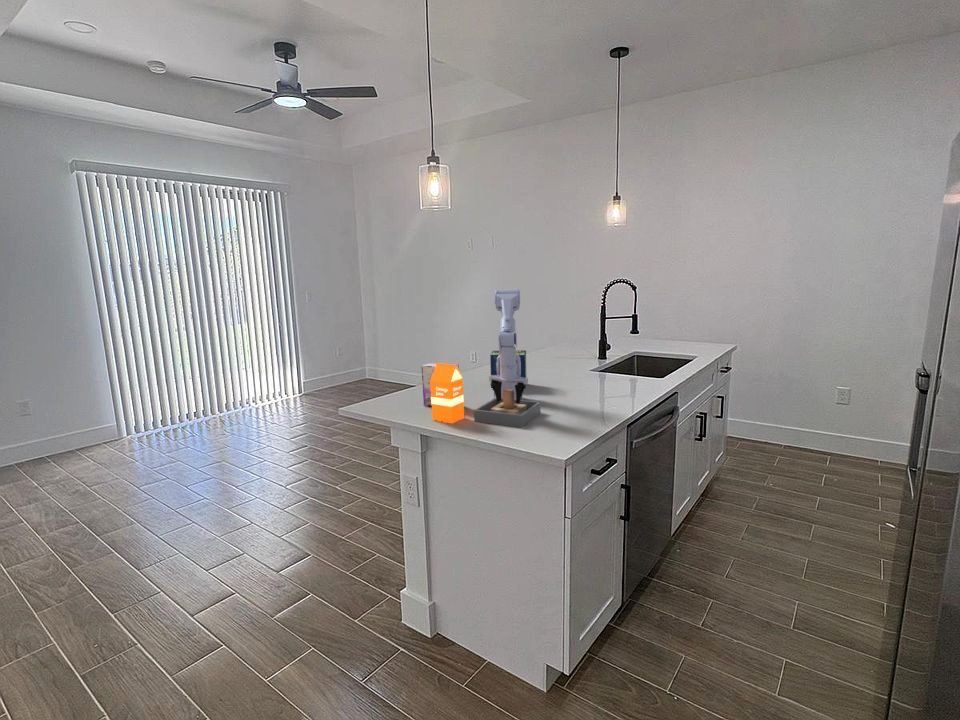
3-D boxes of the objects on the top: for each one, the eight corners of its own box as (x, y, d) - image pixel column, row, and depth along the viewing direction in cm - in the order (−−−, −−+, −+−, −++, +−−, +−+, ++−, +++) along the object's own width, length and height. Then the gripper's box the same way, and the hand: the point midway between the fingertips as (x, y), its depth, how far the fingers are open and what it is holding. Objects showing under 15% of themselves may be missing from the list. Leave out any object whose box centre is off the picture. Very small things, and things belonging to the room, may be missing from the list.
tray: (474, 421, 180) (473, 410, 180) (495, 407, 196) (495, 397, 195) (521, 427, 172) (521, 415, 172) (540, 412, 188) (540, 402, 187)
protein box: (493, 383, 235) (492, 350, 232) (526, 383, 233) (526, 350, 230) (490, 389, 225) (489, 354, 222) (525, 389, 223) (525, 354, 220)
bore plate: (490, 414, 185) (490, 409, 185) (502, 407, 194) (501, 402, 193) (516, 417, 181) (516, 411, 180) (526, 409, 189) (526, 404, 189)
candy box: (461, 405, 201) (459, 364, 198) (454, 409, 196) (452, 367, 193) (430, 402, 207) (428, 362, 204) (423, 406, 201) (420, 364, 198)
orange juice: (452, 423, 178) (449, 367, 175) (431, 420, 183) (429, 365, 179) (464, 417, 185) (462, 363, 181) (444, 414, 190) (442, 361, 186)
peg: (501, 412, 187) (501, 391, 185) (506, 409, 190) (506, 388, 188) (511, 414, 185) (510, 392, 183) (516, 411, 188) (516, 390, 186)
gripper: (484, 366, 184) (485, 402, 186) (522, 368, 177) (523, 406, 180) (493, 362, 190) (494, 397, 192) (530, 364, 183) (530, 401, 186)
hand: (508, 401), depth 186 cm, fingers open, 7 cm apart
